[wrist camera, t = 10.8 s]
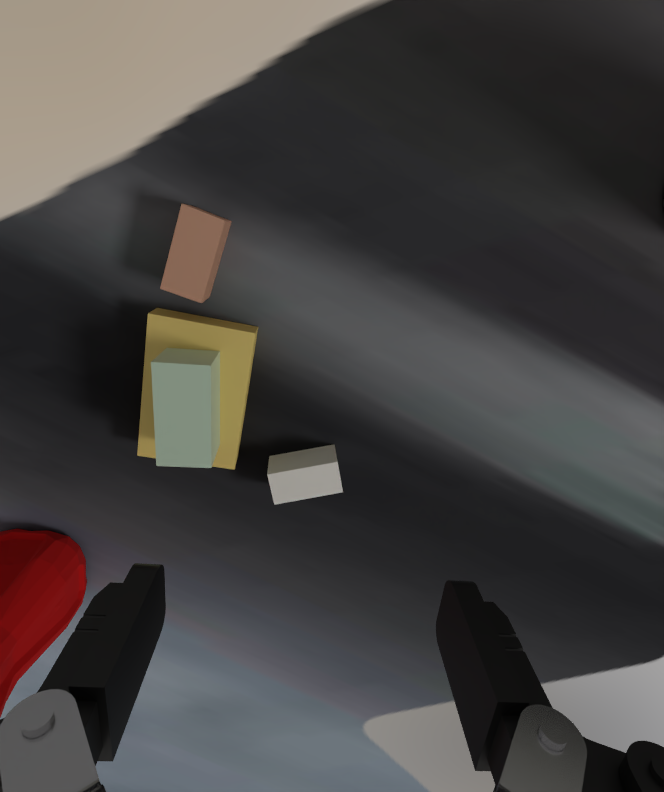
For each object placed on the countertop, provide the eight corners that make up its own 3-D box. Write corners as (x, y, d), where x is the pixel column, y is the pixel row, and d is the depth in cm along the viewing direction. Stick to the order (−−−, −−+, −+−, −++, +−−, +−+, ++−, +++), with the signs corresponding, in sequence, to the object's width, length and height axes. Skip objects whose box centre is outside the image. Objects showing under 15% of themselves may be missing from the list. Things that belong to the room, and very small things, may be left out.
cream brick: (334, 443, 41) (337, 461, 38) (339, 472, 43) (342, 492, 39) (269, 455, 41) (267, 474, 38) (276, 483, 42) (274, 504, 39)
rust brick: (192, 205, 34) (181, 203, 31) (231, 221, 34) (225, 220, 31) (172, 283, 36) (160, 288, 32) (210, 296, 36) (201, 303, 33)
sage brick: (219, 351, 35) (210, 365, 31) (219, 444, 38) (211, 467, 34) (166, 347, 35) (150, 362, 31) (170, 442, 37) (156, 465, 34)
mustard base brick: (258, 325, 38) (255, 333, 35) (238, 453, 42) (234, 469, 39) (159, 306, 36) (148, 313, 34) (148, 439, 40) (137, 455, 38)
